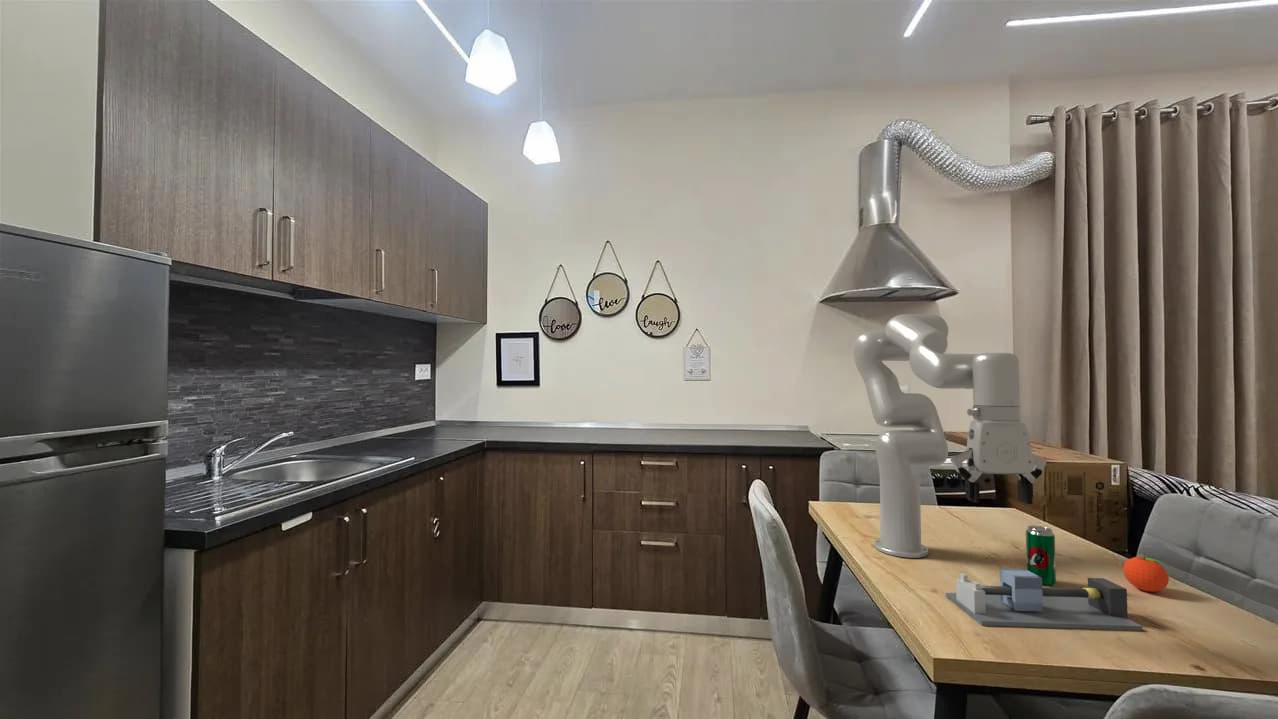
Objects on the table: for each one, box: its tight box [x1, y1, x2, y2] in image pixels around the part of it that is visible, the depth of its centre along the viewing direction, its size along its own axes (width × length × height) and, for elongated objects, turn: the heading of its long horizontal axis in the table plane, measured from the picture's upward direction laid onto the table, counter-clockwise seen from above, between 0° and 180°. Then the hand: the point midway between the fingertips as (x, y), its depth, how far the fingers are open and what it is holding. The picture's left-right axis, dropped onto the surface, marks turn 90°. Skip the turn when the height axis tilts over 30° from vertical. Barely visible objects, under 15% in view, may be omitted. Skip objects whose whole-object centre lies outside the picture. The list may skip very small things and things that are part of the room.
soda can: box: [1025, 525, 1057, 587], centre depth 111 cm, size 5×5×12 cm
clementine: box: [1122, 556, 1174, 593], centre depth 106 cm, size 8×7×7 cm
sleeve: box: [999, 568, 1043, 611], centre depth 97 cm, size 5×4×6 cm
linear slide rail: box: [945, 573, 1144, 632], centre depth 96 cm, size 28×12×6 cm, turn 86°
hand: (998, 501), depth 97 cm, fingers open, 9 cm apart
